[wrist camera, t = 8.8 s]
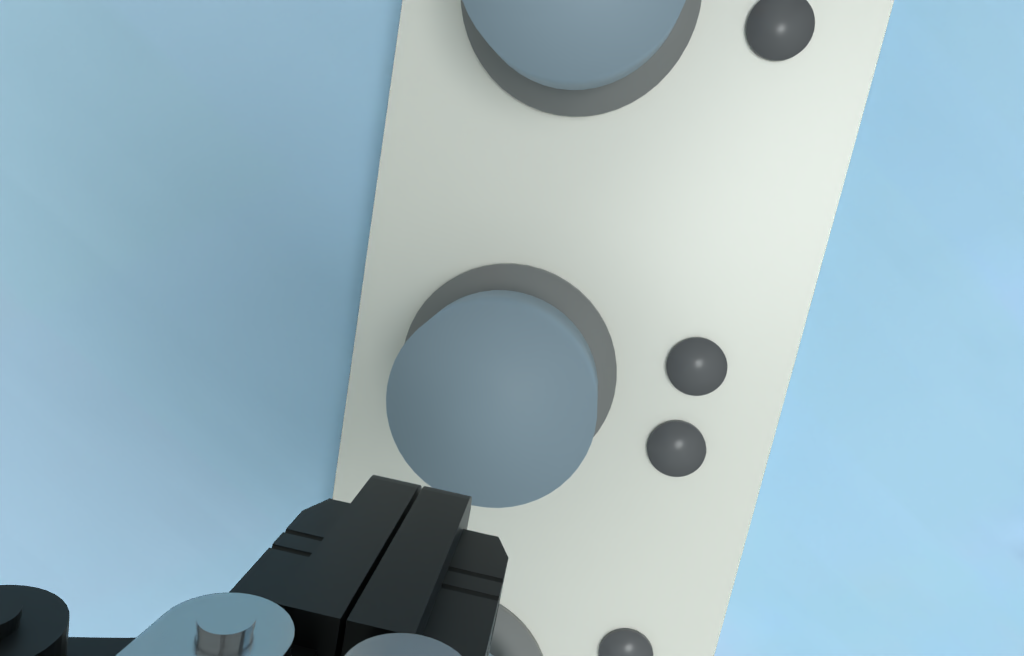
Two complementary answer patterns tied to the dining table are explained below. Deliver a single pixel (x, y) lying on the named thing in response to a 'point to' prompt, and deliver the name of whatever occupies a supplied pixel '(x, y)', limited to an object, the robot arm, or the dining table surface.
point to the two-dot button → (494, 399)
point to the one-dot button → (574, 37)
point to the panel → (620, 288)
